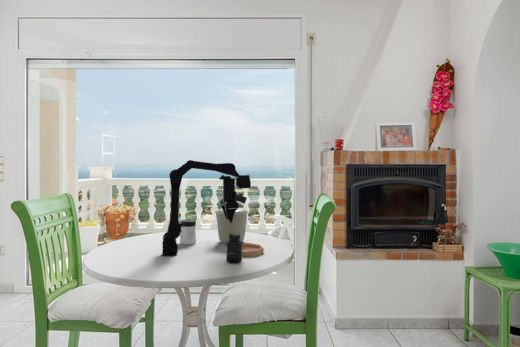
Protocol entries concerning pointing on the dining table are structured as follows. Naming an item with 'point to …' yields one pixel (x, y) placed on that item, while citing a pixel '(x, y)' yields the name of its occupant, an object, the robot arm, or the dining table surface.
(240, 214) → the canister
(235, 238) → the supplement bottle
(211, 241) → the dining table surface
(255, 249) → the terracotta octagonal tray
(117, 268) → the dining table surface
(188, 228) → the jar
